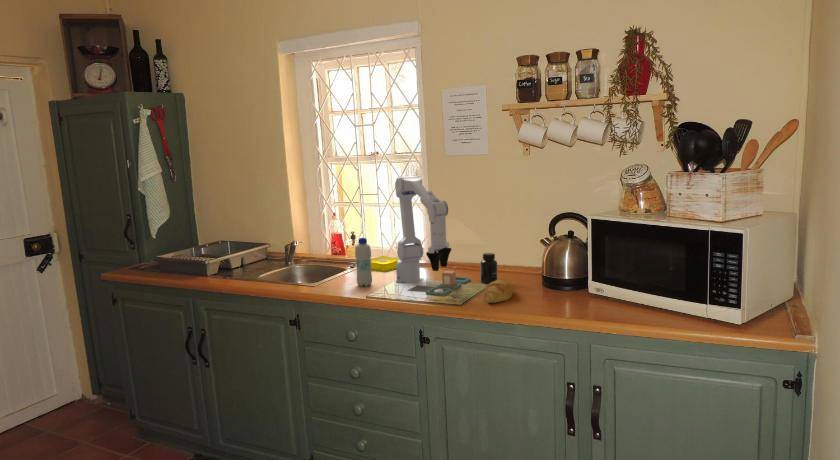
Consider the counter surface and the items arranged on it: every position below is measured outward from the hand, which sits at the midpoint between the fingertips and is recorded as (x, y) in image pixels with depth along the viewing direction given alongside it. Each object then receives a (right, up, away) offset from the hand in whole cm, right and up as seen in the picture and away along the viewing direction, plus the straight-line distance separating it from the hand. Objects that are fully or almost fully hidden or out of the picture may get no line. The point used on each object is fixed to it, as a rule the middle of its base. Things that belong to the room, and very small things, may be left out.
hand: (439, 268), depth 219 cm
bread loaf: (+21, -10, -8) cm, 25 cm away
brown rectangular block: (+4, -8, +9) cm, 13 cm away
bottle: (-30, -8, +18) cm, 36 cm away
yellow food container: (-24, -4, +54) cm, 60 cm away
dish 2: (+4, -8, +9) cm, 13 cm away
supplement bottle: (+21, -7, +15) cm, 27 cm away
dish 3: (+9, -7, +18) cm, 21 cm away
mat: (-7, -9, +8) cm, 13 cm away
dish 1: (0, -10, 0) cm, 10 cm away
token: (0, -9, 0) cm, 9 cm away
